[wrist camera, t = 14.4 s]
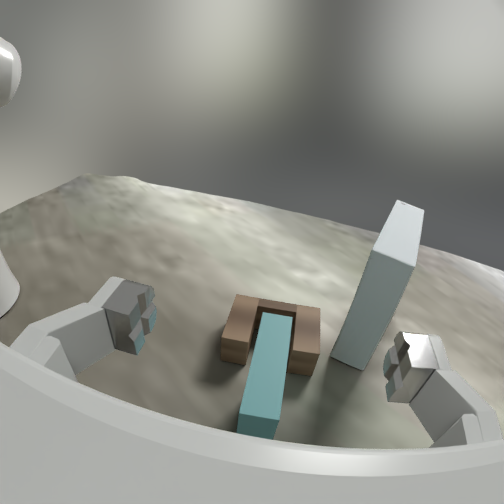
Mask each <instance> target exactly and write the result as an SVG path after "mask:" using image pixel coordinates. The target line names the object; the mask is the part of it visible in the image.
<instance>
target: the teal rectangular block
mask: <svg viewBox="0 0 504 504" xmlns="http://www.w3.org/2000/svg"><path fill="white" fill-rule="evenodd" d="M292 318H293V317H289V316H283V315H277V314H271V313H265V312H263V314H262V319H261V323H260V327H259V332H258V336H257V340H256V345H255V349H254V353H253V357H252V362H251V366H250V370H249V374H248V378H247V383H246V387H245V391H244V395H243V399H242V403H241V407H240V411H239V417H238V426H237V433H238V434H243V435H248V436H253V437H259V438H265V439H271V440H273V437H274V434H275V431H276V428H277V425H278V422H279V419H280V412H281V405H282V398H283V391H284V383H285V376H286V368H287V360H288V352H289V344H290V336H291V327H292Z"/></svg>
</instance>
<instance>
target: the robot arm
mask: <svg viewBox="0 0 504 504" xmlns="http://www.w3.org/2000/svg"><path fill="white" fill-rule="evenodd" d="M20 78H21V60H20V57H19V54H18V52H17V51H16V49H15V48H14V46H12V45H11V44H10V43H8V42H7V41H5V40H4V39H3V38H1V37H0V107H3V106H5V105H7V104H8V103H9V102H10V100H11V99H12V97H13V96H14V94H15V92H16V90H17V88H18V85H19V82H20ZM19 291H20V286H19V283H18V281H17V280H16V278H15V277H14V275H13V274H12V272H11V270H10V269H9V267H8V265H7V263H6V261H5V259H4V257H3V254H2V252H1V250H0V317H1V316H3V315H4V314H5V313H6V312H7V311H8V310H9V309H10V308H11V307H12V306H13V304H14V303H15V301H16V299H17V297H18V295H19ZM154 297H155V294H154V288H153V287H152V286H149V285H145V284H141V283H138V282H134V281H130V280H127V279H126V280H125V279H122V278H118V277H115V276H114V277H111V278H109V280H108V281H107V282H106V283H105V284H104V285H103V286H102V288H101V289H100V290H99V291H98V292H97V293H96V294H95V296H94V297H93V298H92V299H91V300H90V301H89V303H88V304H87V303H82V304H79V305H77V306H74V307H72V308H69V309H67V310H64V311H62V312H59V313H57V314H54V315H52V316H49V317H47V318H44V319H42V320H39V321H37V322H34V323H32V324H30V325H28V326H27V327H26V329H25V330H24V331H23V332H22V333H21V334H20V335H19V337H18V338H17V339H16V340H15V341H14V342H13V344H12V345H11V346H10V347H8V346H6V345H4V344H3V343H1V342H0V504H504V439H503V436H502V432H501V429H500V425H499V422H498V418H497V415H496V412H495V410H494V409H493V408H492V407H491V406H490V405H489V404H488V403H487V402H486V401H485V400H484V399H483V398H482V397H481V396H480V395H479V394H478V393H477V392H476V391H475V390H474V389H473V388H472V387H471V386H470V385H469V384H468V383H467V382H466V381H465V380H464V379H463V378H462V377H461V376H460V375H459V374H458V373H457V372H456V371H455V370H452V369H451V366H450V363H449V360H448V357H447V354H446V351H445V349H444V346H443V343H442V340H441V338H440V337H439V336H438V335H430V334H418V333H409V332H399V333H398V334H397V335H396V337H395V339H394V342H395V346H393V347H392V348H390V349H389V350H388V352H387V354H386V356H385V360H384V365H383V371H384V376H385V377H386V378H387V380H388V383H387V385H386V393H387V401H388V402H396V403H410V404H409V405H410V407H411V408H412V410H413V411H414V413H415V414H416V416H417V417H418V419H419V420H420V422H421V423H422V425H423V426H424V428H425V429H426V431H427V432H428V434H429V435H430V437H431V438H432V440H433V441H434V443H433V444H432V445H431V446H430V447H429V448H418V449H360V448H341V447H328V446H317V445H308V444H299V443H291V442H284V441H277V440H271V439H265V438H259V437H253V436H248V435H243V434H238V433H233V432H228V431H224V430H219V429H215V428H211V427H207V426H203V425H199V424H195V423H191V422H188V421H184V420H180V419H177V418H174V417H170V416H167V415H164V414H160V413H157V412H154V411H151V410H148V409H145V408H142V407H139V406H136V405H133V404H130V403H128V402H125V401H122V400H119V399H117V398H114V397H112V396H109V395H106V394H104V393H101V392H99V391H97V390H94V389H92V388H89V387H87V386H85V385H82V384H80V383H79V382H78V380H77V378H76V376H75V375H76V374H78V373H80V372H81V371H83V370H84V369H86V368H88V367H89V366H91V365H92V364H94V363H96V362H97V361H99V360H100V359H102V358H104V357H105V356H107V355H108V354H110V353H111V352H113V351H115V349H117V350H120V351H123V352H127V353H130V354H133V355H138V353H139V351H140V350H141V348H142V346H143V344H144V343H145V339H144V336H145V335H147V334H149V333H150V332H151V331H152V329H153V327H154V324H155V320H156V306H155V305H154V303H153V302H152V300H153V298H154Z"/></svg>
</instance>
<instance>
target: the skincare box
mask: <svg viewBox="0 0 504 504" xmlns="http://www.w3.org/2000/svg"><path fill="white" fill-rule="evenodd" d="M423 216H424V210H422V209H419V208H417V207H414V206H412V205H409V204H407V203H404V202H402V201H399V200H397V201H396V203H395V205H394V207H393V209H392V212H391V213H390V216H389V217H388V219H387V221H386V223H385V225H384V227H383V229H382V231H381V233H380V235H379V237H378V239H377V241H376V243H375V245H374V246H373V248H372V250H371V253H370V256H369V259H368V261H367V264H366V267H365V270H364V273H363V275H362V278H361V281H360V283H359V286H358V289H357V291H356V294H355V297H354V300H353V302H352V305H351V307H350V310H349V312H348V315H347V317H346V320H345V322H344V325H343V327H342V329H341V331H340V334H339V336H338V338H337V340H336V343H335V345H334V347H333V349H332V351H331V353H330V356H331V357H333V358H335V359H337V360H339V361H342V362H344V363H346V364H348V365H350V366H352V367H355V368H357V369H360V370H364V369H365V367H366V365H367V363H368V361H369V360H370V358H371V356H372V354H373V353H374V351H375V349H376V347H377V345H378V344H379V342H380V340H381V338H382V336H383V334H384V332H385V330H386V328H387V326H388V324H389V322H390V320H391V318H392V316H393V314H394V312H395V310H396V308H397V306H398V304H399V302H400V299H401V297H402V295H403V293H404V291H405V288H406V286H407V284H408V281H409V279H410V277H411V274H412V272H413V270H414V268H415V265H416V260H417V254H418V248H419V242H420V236H421V230H422V223H423Z"/></svg>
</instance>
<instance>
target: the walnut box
mask: <svg viewBox="0 0 504 504" xmlns="http://www.w3.org/2000/svg"><path fill="white" fill-rule="evenodd" d="M263 312H265V313H271V314H277V315H283V316H289V317H293V318H292V327H291V341H290V350H289V358H288V366H287V372H288V373H295V374H301V375H309V376H312V374H313V371H314V369H315V366H316V363H317V360H318V357H319V355H320V308H315V307H308V306H302V305H296V304H290V303H284V302H278V301H272V300H266V299H260V298H255V297H249V296H243V295H238V294H236V297H235V300H234V303H233V306H232V308H231V311H230V314H229V317H228V320H227V323H226V325H225V328H224V331H223V334H222V337H221V360H222V361H227V362H232V363H237V364H242V365H246V361H247V357H248V353H249V349H250V345H251V341H252V337H253V333H254V329H259V327H260V323H261V319H262V314H263Z"/></svg>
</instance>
